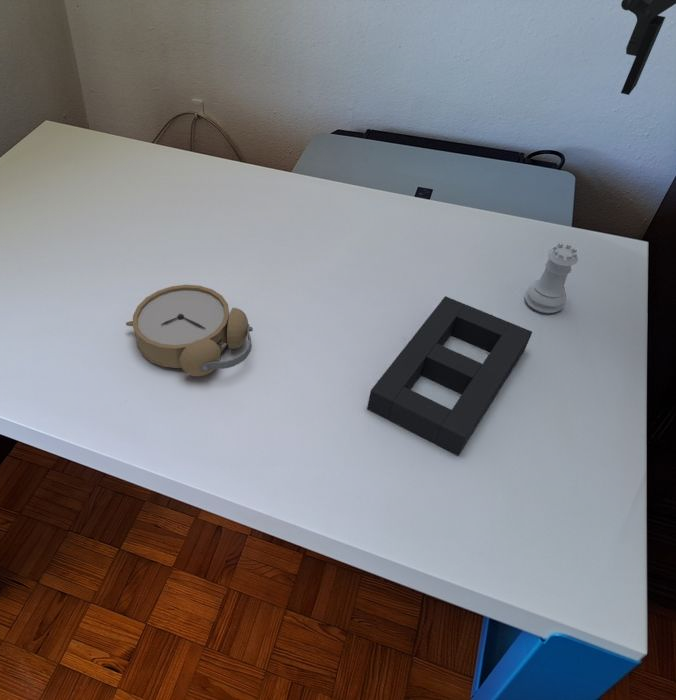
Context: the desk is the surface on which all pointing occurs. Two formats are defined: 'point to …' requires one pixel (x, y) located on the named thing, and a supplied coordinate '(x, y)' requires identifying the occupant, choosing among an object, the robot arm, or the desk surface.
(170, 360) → the alarm clock
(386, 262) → the desk surface
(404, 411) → the socket pad
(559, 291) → the rook chess piece
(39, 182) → the desk surface
